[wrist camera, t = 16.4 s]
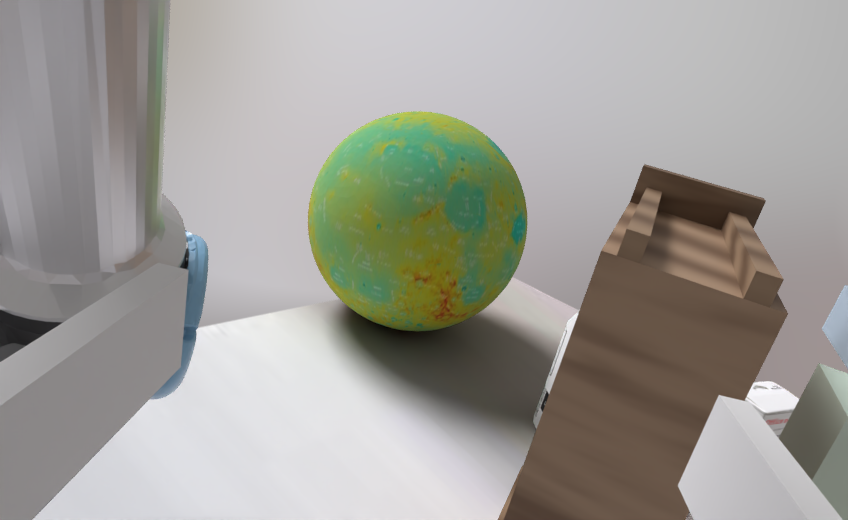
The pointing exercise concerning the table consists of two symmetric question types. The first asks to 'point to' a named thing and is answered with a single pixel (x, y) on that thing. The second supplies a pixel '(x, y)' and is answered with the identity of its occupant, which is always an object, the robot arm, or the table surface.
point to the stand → (652, 354)
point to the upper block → (822, 435)
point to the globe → (417, 221)
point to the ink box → (772, 404)
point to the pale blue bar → (839, 326)
